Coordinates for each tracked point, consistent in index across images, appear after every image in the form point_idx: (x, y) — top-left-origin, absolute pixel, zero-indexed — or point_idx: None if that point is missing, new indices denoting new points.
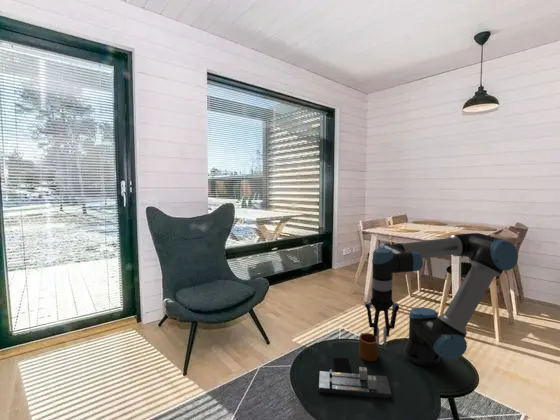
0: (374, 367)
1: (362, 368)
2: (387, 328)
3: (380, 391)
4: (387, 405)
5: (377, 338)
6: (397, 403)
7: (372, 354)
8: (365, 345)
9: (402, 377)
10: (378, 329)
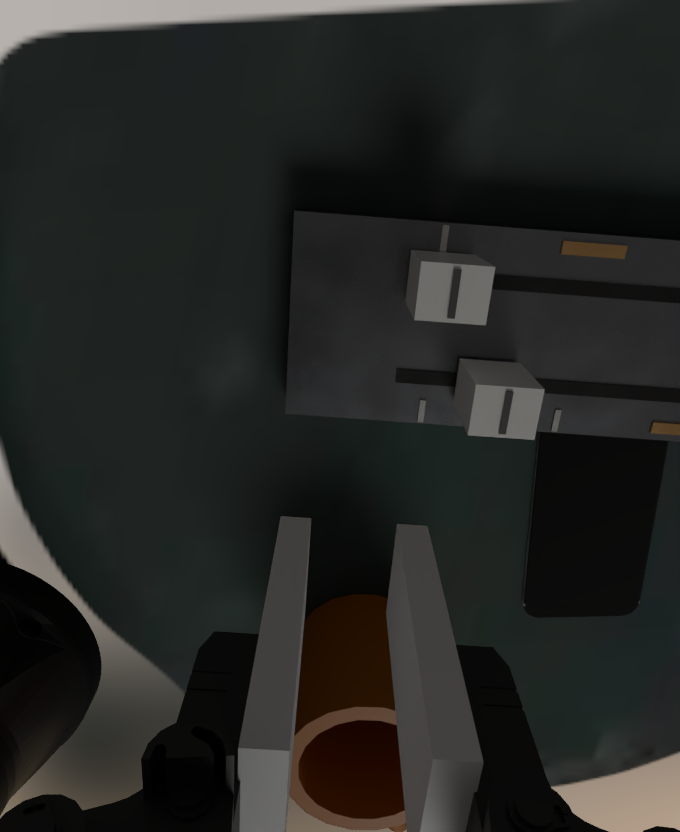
0: (348, 532)
1: (508, 420)
2: (205, 797)
3: (379, 235)
4: (346, 128)
5: (437, 596)
6: (261, 156)
7: (348, 631)
8: None
9: (164, 440)
10: (445, 772)
